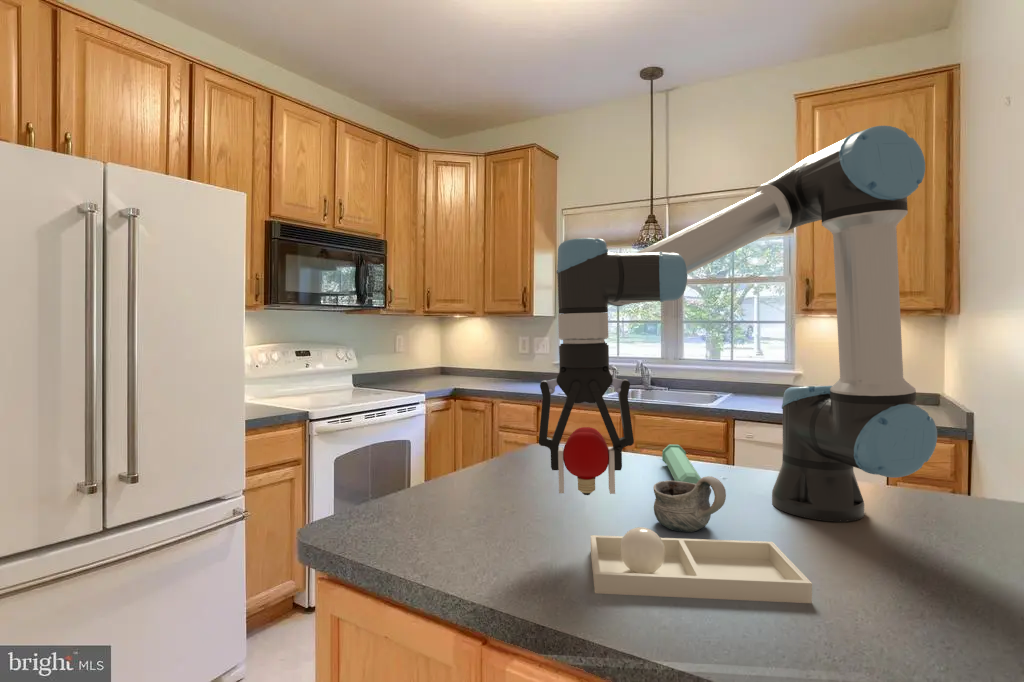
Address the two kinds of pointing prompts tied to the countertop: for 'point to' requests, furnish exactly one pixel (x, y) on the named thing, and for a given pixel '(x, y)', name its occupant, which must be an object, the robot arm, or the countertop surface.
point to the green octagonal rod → (679, 464)
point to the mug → (687, 503)
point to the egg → (642, 550)
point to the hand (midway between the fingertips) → (586, 490)
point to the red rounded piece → (586, 457)
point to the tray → (703, 571)
